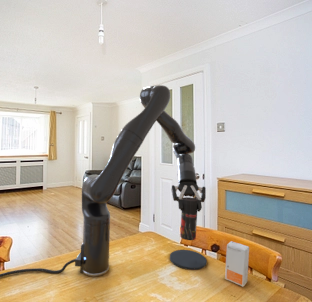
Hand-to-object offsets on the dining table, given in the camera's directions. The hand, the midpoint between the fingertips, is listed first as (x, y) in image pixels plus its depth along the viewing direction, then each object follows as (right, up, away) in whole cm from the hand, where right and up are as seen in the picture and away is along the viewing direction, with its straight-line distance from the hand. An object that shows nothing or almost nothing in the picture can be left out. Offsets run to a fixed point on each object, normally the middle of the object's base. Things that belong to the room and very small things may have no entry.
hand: (190, 210), depth 86 cm
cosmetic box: (+13, -21, -11) cm, 27 cm away
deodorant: (-1, -11, +2) cm, 12 cm away
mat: (-1, -20, +2) cm, 20 cm away
